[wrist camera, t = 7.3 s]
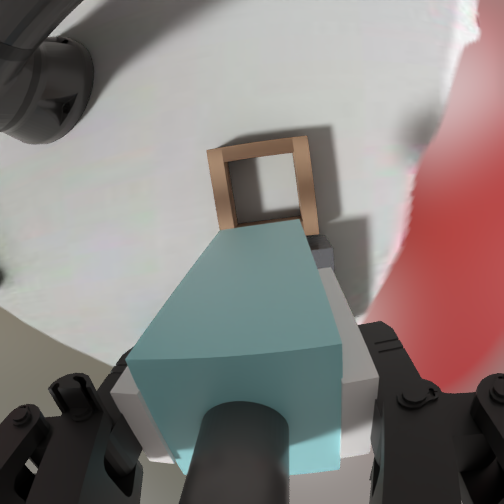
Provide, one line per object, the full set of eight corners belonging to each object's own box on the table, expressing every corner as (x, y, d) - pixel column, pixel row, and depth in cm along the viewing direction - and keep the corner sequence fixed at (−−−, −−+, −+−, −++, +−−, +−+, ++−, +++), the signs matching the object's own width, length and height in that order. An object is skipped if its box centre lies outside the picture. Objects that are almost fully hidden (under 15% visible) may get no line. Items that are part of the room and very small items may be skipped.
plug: (220, 230, 17) (56, 462, 3) (299, 218, 17) (379, 479, 3) (234, 301, 19) (160, 557, 4) (308, 292, 18) (350, 561, 4)
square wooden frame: (212, 150, 33) (206, 150, 30) (304, 137, 32) (307, 135, 29) (226, 238, 35) (222, 246, 33) (315, 227, 34) (319, 234, 31)
